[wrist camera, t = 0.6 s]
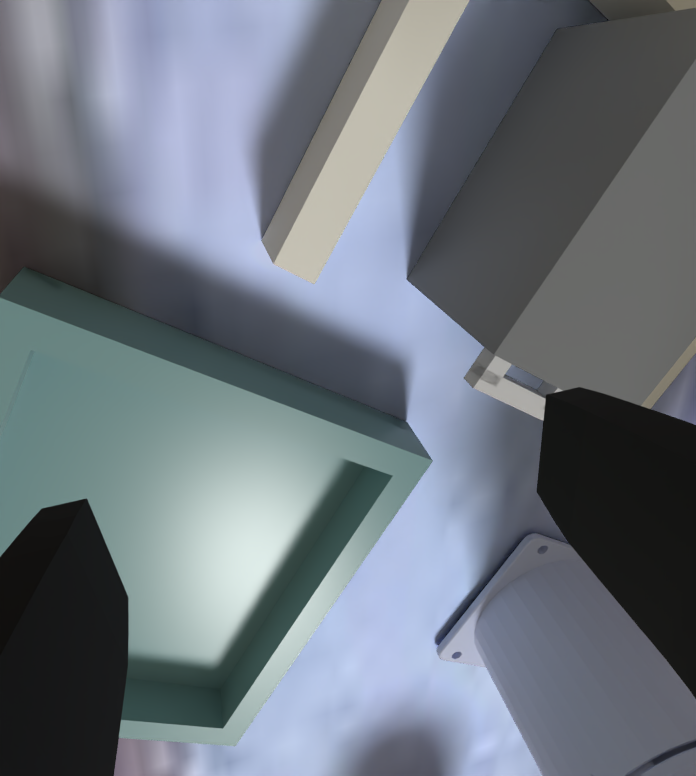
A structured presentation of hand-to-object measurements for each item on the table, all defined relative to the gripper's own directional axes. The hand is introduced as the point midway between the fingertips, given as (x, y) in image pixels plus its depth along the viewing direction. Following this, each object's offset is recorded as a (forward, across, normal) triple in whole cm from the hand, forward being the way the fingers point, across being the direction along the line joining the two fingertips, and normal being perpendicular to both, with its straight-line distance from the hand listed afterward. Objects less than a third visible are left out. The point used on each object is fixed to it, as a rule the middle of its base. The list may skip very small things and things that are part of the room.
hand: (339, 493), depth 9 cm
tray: (+10, +5, +8) cm, 14 cm away
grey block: (+10, -9, -2) cm, 13 cm away
